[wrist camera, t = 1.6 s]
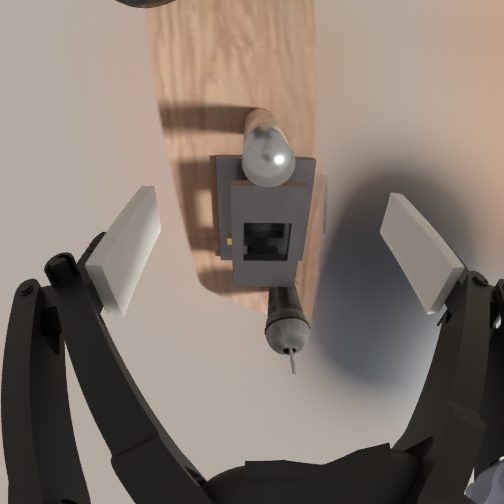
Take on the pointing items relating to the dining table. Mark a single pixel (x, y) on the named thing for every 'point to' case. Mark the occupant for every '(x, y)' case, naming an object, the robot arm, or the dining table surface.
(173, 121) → the dining table surface
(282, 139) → the silver metal cylinder
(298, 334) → the beverage cup
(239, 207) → the grey holder stand
